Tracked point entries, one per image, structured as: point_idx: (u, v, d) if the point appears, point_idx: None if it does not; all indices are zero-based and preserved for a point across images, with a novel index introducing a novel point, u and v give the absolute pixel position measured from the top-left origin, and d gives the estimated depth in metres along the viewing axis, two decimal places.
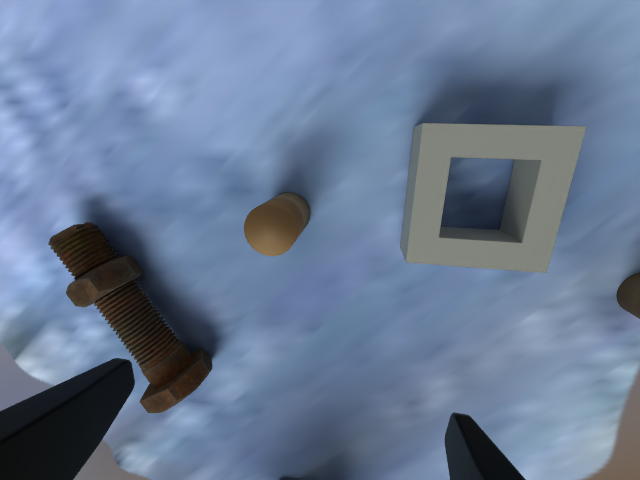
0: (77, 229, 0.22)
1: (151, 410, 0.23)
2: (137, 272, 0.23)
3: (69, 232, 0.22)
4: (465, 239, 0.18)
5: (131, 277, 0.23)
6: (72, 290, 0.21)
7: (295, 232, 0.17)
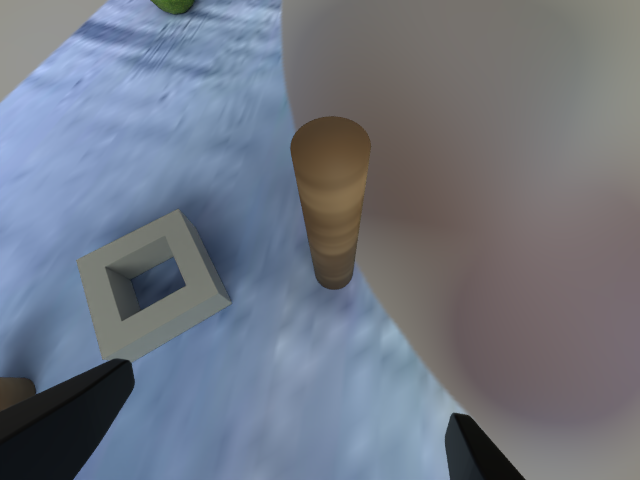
0: None
1: None
2: None
3: None
4: (144, 309, 0.20)
5: None
6: None
7: None
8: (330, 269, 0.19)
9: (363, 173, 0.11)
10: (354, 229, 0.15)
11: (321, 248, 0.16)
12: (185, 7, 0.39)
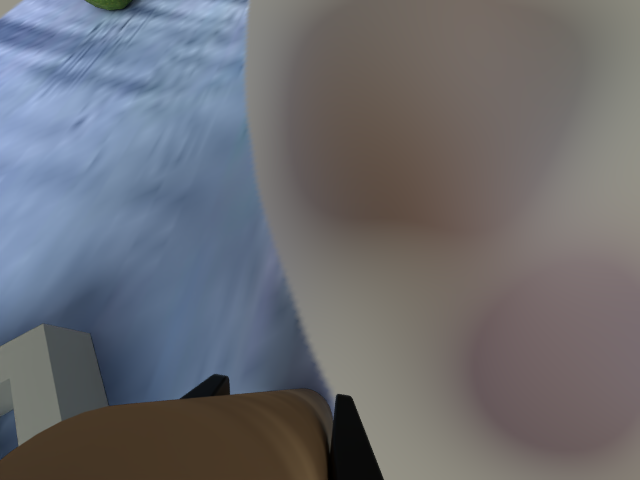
0: None
1: None
2: None
3: None
4: None
5: None
6: None
7: None
8: None
9: None
10: None
11: None
12: (122, 1, 0.30)
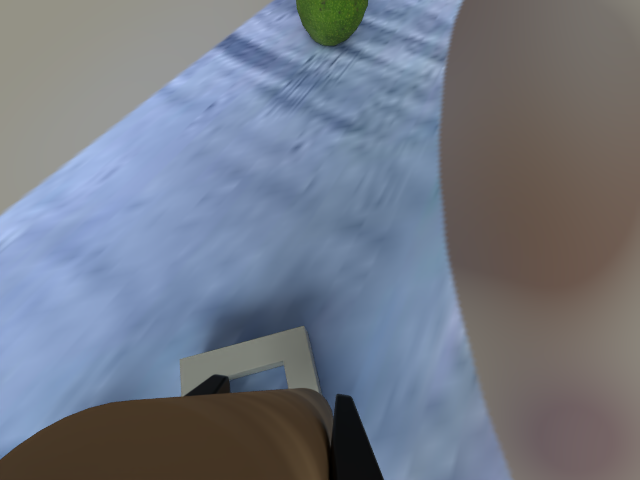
0: None
1: None
2: None
3: None
4: None
5: None
6: None
7: None
8: None
9: None
10: None
11: None
12: (339, 42, 0.35)
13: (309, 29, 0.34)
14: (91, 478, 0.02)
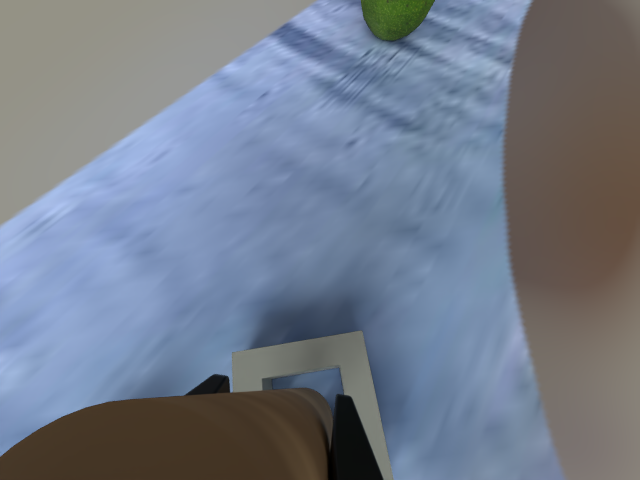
0: None
1: None
2: None
3: None
4: None
5: None
6: None
7: None
8: None
9: None
10: None
11: None
12: (400, 37, 0.33)
13: (370, 21, 0.32)
14: (88, 478, 0.02)
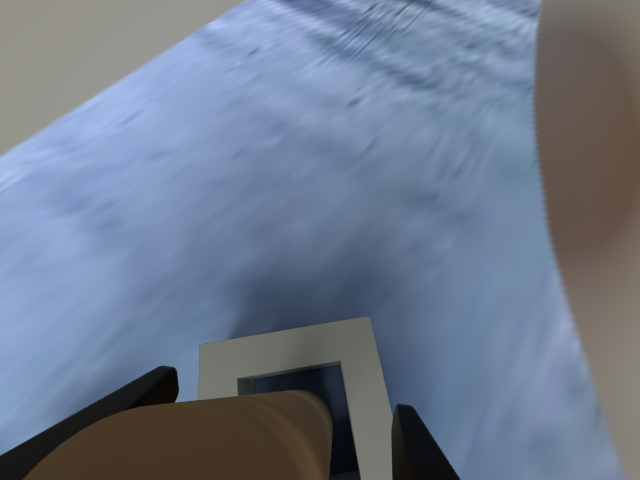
0: None
1: None
2: None
3: None
4: None
5: None
6: None
7: None
8: None
9: None
10: None
11: None
12: None
13: None
14: (125, 471, 0.03)
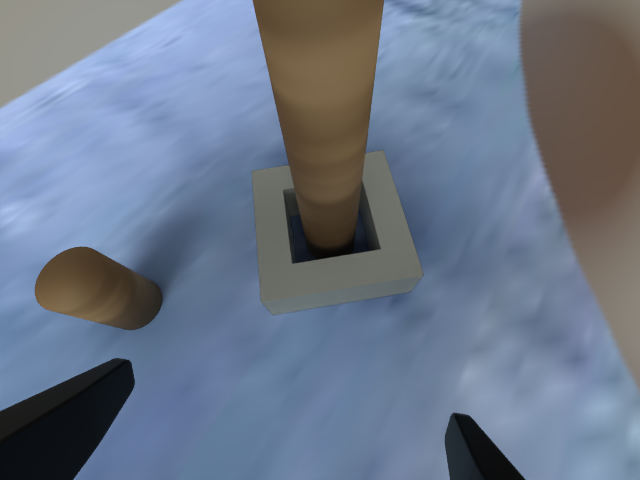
0: None
1: None
2: None
3: None
4: (321, 259, 0.15)
5: None
6: None
7: (103, 272, 0.13)
8: (324, 229, 0.14)
9: (375, 14, 0.06)
10: (357, 155, 0.10)
11: (311, 190, 0.12)
12: None
13: None
14: None
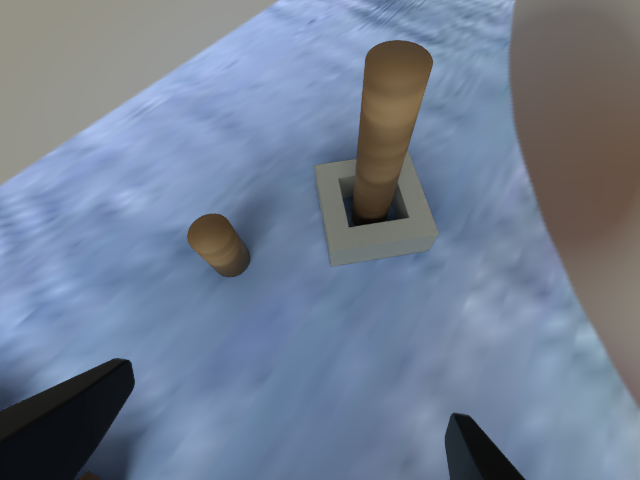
0: None
1: None
2: None
3: None
4: (369, 224, 0.22)
5: None
6: None
7: (230, 229, 0.21)
8: (373, 202, 0.21)
9: (425, 84, 0.14)
10: (404, 153, 0.18)
11: (372, 174, 0.19)
12: None
13: None
14: (390, 49, 0.14)
